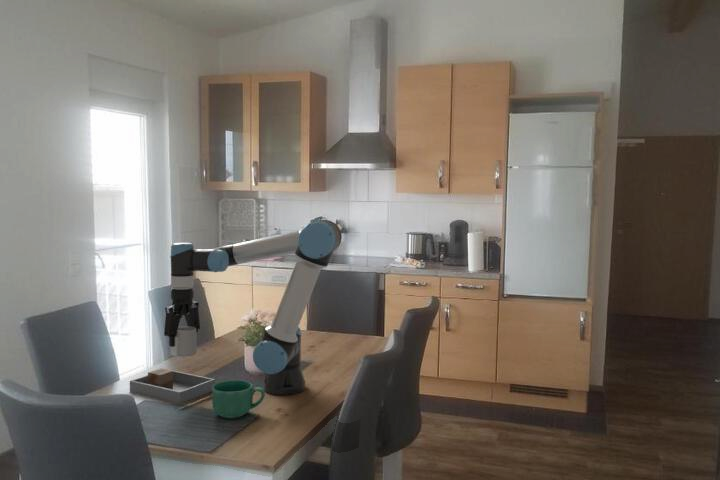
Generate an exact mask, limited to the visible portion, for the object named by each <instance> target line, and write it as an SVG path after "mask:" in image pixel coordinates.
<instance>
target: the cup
mask: <svg viewBox="0 0 720 480" xmlns="http://www.w3.org/2000/svg"><path fill="white" fill-rule="evenodd" d="M172 333H173V332H172ZM176 337H178V356H177V357H184V358H185V357H191V356H195V355H196V354H197V332H196V328H195V327H189V326H188V325H187V326H178V330H177V333H176Z"/></svg>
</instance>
